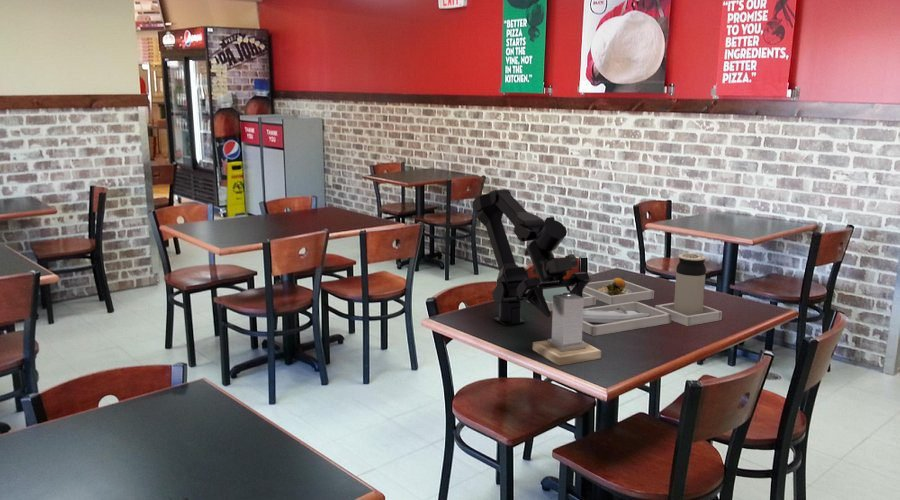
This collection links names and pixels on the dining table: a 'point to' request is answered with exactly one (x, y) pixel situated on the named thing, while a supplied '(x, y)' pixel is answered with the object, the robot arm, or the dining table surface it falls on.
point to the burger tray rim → (637, 295)
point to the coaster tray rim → (588, 301)
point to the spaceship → (611, 316)
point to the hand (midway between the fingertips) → (565, 314)
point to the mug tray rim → (705, 317)
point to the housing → (567, 322)
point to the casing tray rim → (655, 319)
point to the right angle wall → (553, 293)
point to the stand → (566, 353)
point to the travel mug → (690, 284)
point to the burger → (615, 288)
